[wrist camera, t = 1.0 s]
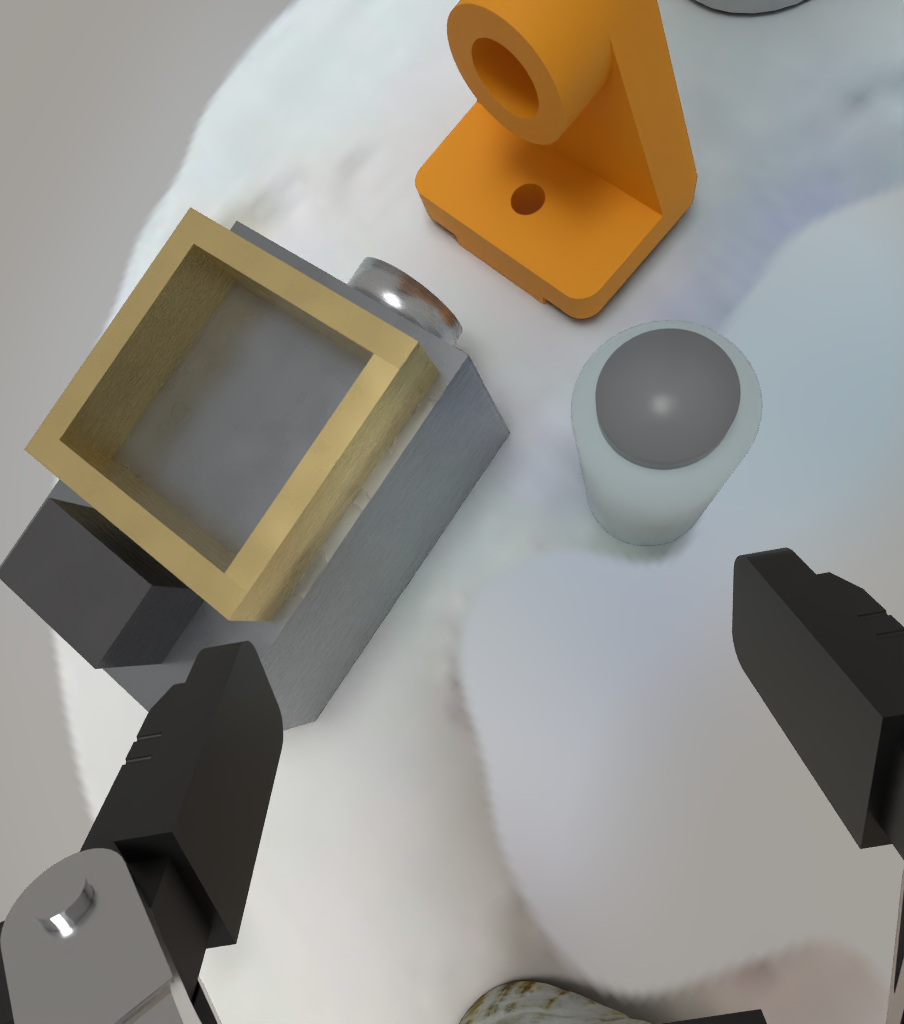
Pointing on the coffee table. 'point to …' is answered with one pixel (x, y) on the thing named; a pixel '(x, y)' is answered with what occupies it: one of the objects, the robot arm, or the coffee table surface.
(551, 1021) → the seashell
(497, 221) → the bracket
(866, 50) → the coffee table surface
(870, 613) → the robot arm
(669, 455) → the bottle
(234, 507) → the grey block with frame
